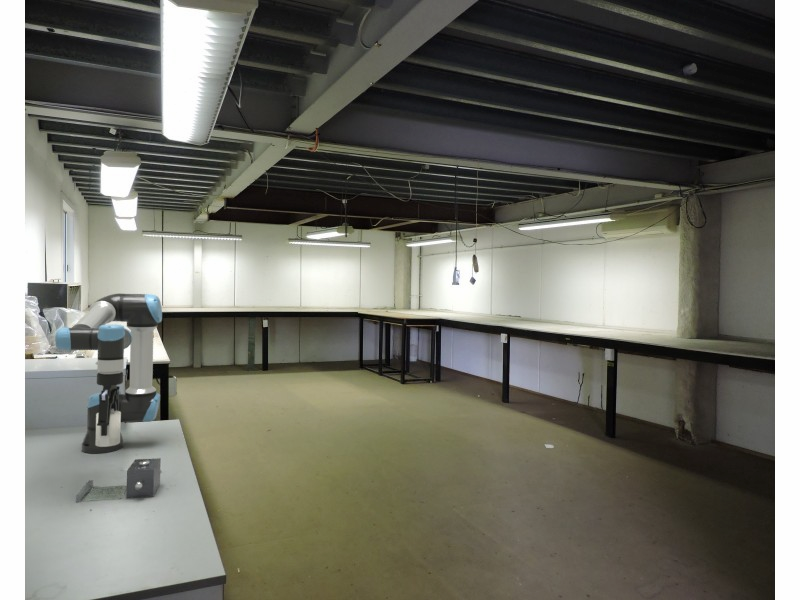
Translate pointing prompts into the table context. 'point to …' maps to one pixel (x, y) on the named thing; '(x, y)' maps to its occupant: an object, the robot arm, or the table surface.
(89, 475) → the table surface
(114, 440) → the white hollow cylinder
